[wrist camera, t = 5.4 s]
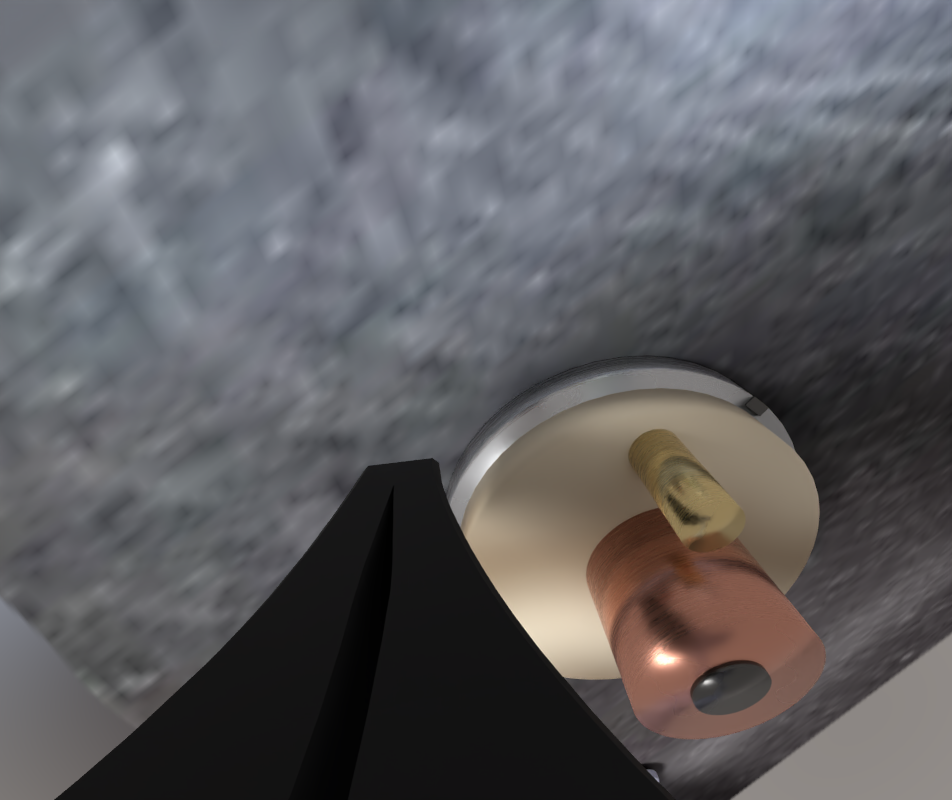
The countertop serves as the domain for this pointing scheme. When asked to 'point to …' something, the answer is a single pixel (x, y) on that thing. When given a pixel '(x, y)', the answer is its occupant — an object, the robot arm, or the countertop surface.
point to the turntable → (631, 505)
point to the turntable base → (585, 387)
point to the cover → (698, 632)
